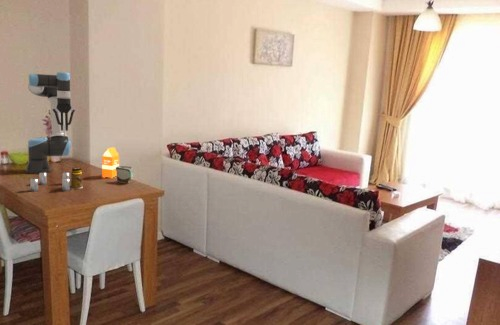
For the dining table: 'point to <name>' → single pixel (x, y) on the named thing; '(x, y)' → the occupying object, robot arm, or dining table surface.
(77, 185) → the condiment
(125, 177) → the retro television
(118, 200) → the dining table surface
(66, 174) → the cylinder
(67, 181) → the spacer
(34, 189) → the cylinder
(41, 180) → the cylinder
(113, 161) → the orange juice
